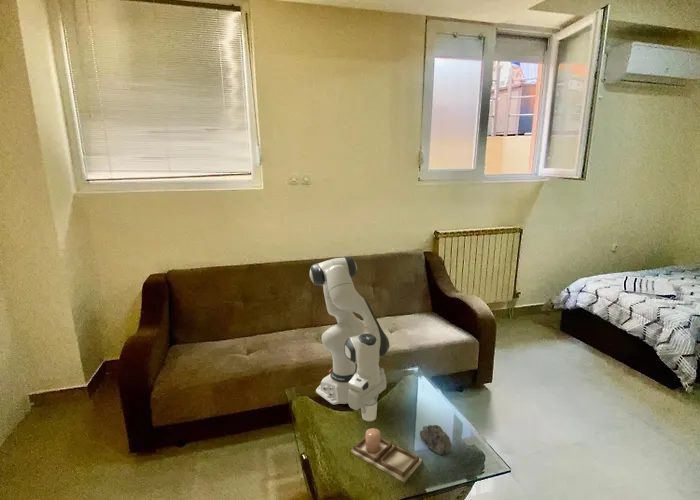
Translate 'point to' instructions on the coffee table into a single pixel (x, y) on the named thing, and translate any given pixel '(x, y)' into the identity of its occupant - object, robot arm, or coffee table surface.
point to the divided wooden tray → (389, 459)
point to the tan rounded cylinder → (373, 440)
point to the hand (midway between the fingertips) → (368, 408)
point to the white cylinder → (370, 410)
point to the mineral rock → (436, 439)
